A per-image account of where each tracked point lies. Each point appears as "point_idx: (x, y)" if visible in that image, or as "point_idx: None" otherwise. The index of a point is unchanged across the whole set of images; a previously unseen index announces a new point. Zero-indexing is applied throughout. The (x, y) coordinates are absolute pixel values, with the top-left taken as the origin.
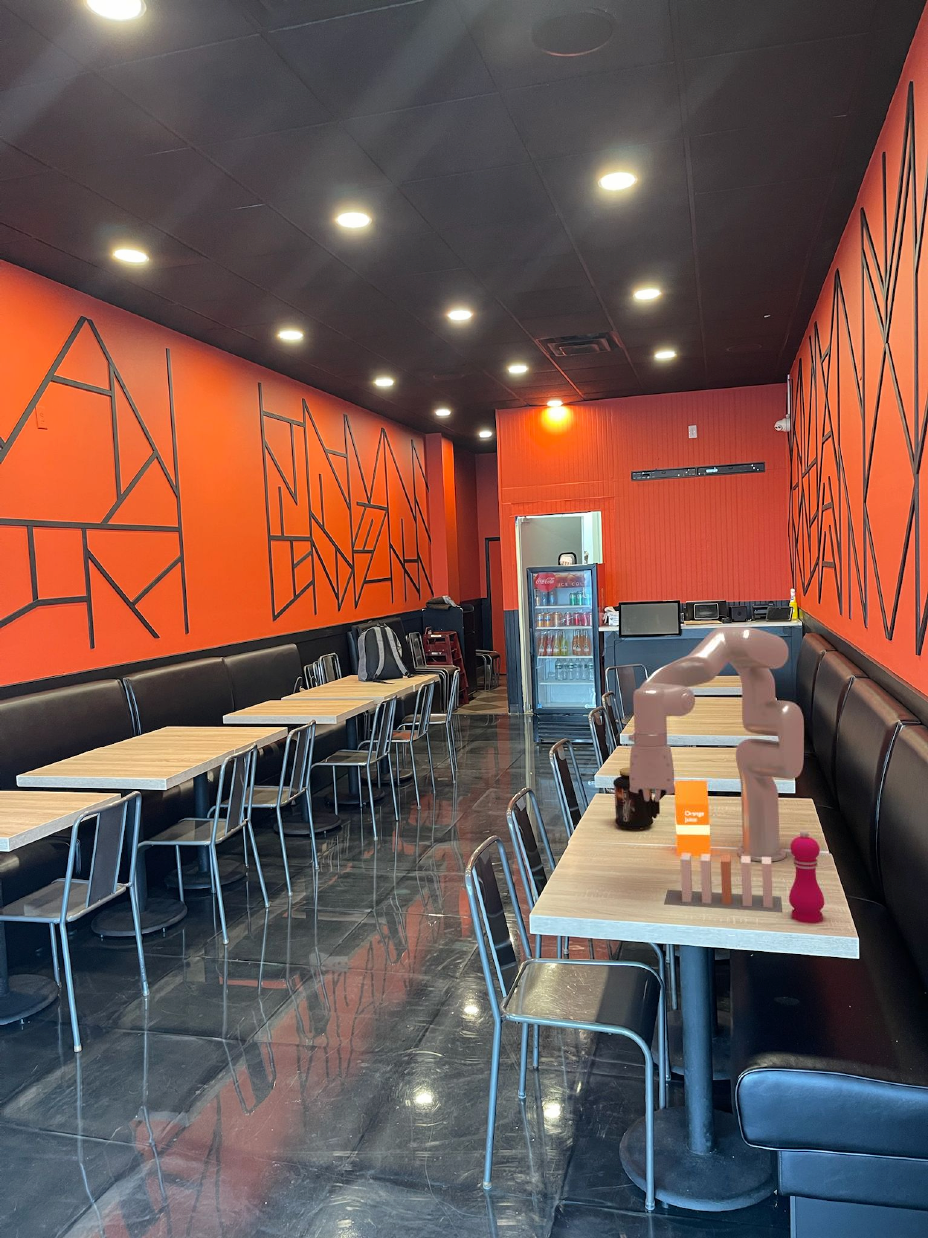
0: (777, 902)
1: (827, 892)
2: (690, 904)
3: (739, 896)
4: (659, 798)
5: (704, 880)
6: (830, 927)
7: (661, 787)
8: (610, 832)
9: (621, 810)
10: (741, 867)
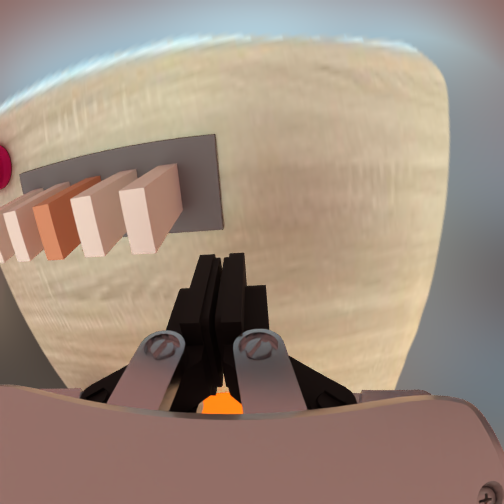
0: None
1: (13, 285)
2: (156, 151)
3: None
4: (139, 353)
5: (108, 181)
6: None
7: (36, 408)
8: None
9: None
10: (22, 206)
